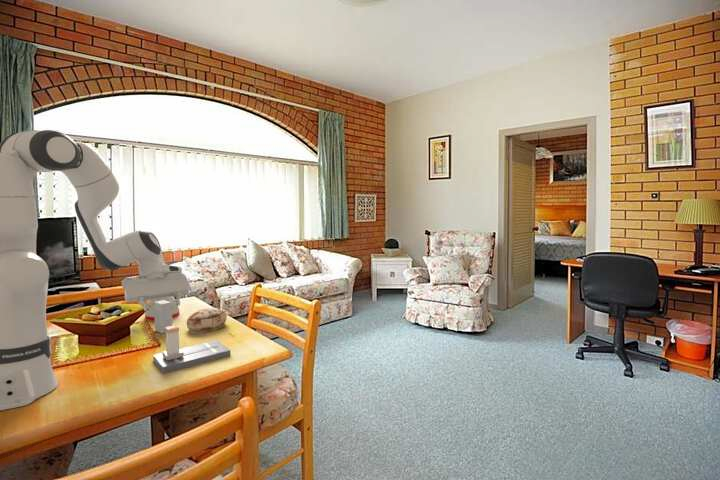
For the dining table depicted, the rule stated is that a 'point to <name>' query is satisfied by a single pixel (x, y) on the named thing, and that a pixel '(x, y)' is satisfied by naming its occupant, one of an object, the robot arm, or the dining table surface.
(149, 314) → the kitchen timer
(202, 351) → the fader console
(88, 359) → the dining table surface
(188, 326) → the trinket box
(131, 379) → the dining table surface
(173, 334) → the fader knob
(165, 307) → the skincare box
